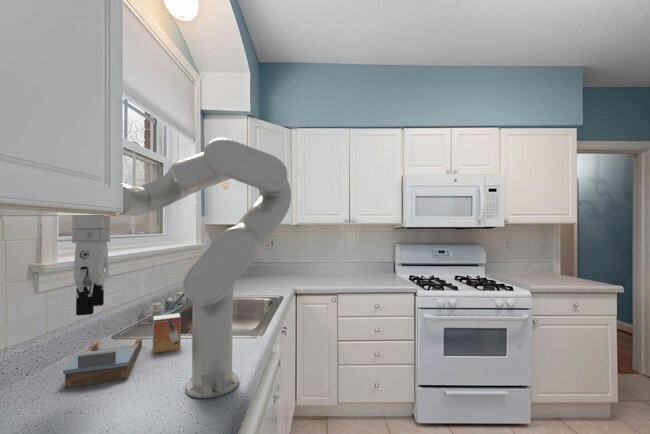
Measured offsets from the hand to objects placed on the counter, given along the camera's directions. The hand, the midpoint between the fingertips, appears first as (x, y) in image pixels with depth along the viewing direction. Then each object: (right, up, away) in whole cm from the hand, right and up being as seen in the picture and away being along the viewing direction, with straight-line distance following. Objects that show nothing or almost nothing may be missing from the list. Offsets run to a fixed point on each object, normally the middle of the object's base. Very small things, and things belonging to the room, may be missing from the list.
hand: (90, 309), depth 80 cm
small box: (+5, -21, +28) cm, 35 cm away
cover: (-4, -17, +11) cm, 20 cm away
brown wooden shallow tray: (-6, -20, +16) cm, 27 cm away
